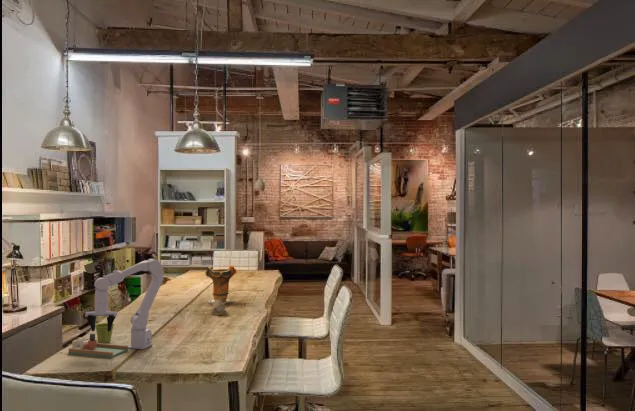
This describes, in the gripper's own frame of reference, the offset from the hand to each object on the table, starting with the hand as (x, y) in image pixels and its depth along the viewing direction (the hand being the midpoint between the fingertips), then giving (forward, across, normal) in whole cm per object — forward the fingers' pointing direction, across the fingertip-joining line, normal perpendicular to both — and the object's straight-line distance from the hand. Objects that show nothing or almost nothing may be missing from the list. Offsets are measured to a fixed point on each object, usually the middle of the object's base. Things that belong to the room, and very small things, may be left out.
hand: (101, 331), depth 238 cm
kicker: (+8, +4, +1) cm, 9 cm away
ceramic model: (+11, -40, -90) cm, 99 cm away
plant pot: (+10, +6, -17) cm, 21 cm away
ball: (+7, +8, 0) cm, 11 cm away
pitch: (+10, 0, +2) cm, 10 cm away
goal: (+9, +9, 0) cm, 12 cm away
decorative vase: (+11, -33, -132) cm, 136 cm away
